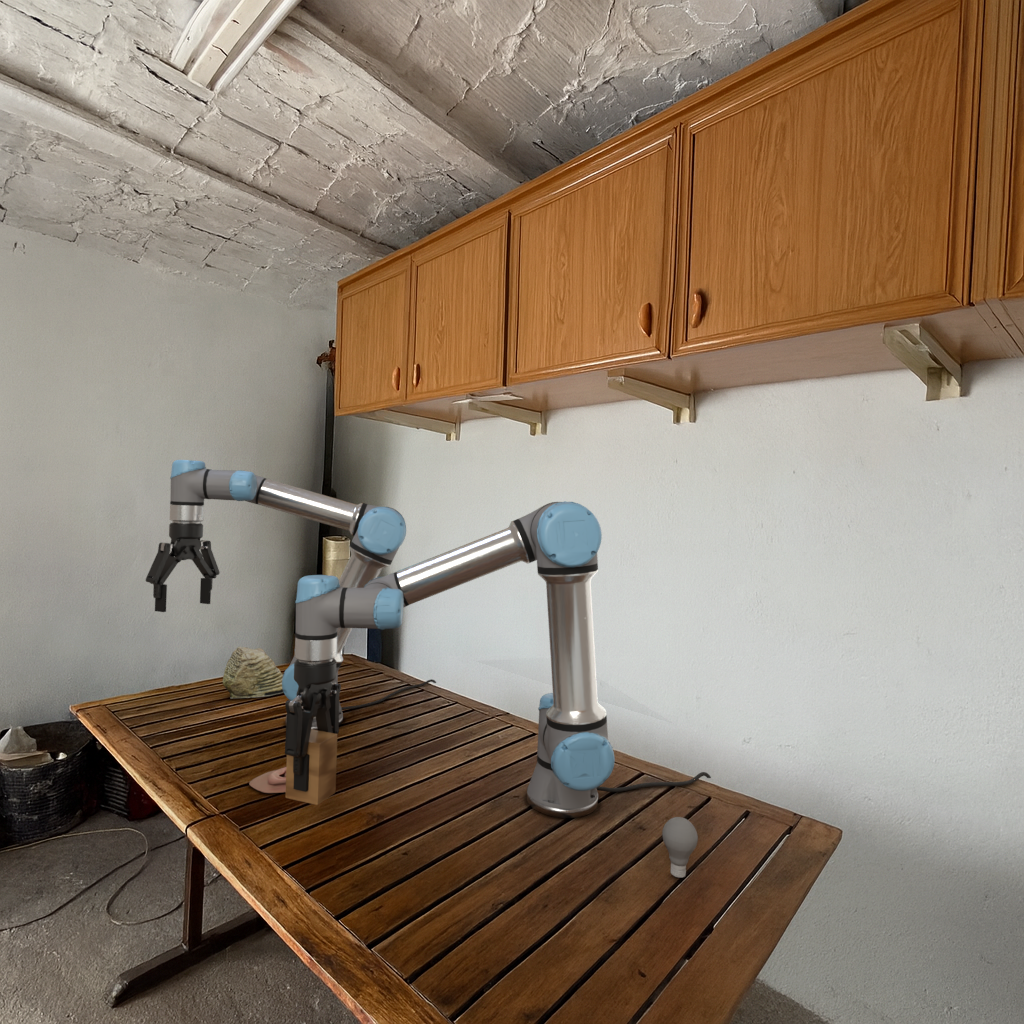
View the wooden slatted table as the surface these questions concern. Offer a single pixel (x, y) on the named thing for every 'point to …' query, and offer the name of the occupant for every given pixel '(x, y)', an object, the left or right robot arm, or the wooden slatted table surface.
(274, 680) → the fossil
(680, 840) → the light bulb
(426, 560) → the right robot arm
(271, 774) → the anatomical model
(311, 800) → the block
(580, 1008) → the wooden slatted table surface
